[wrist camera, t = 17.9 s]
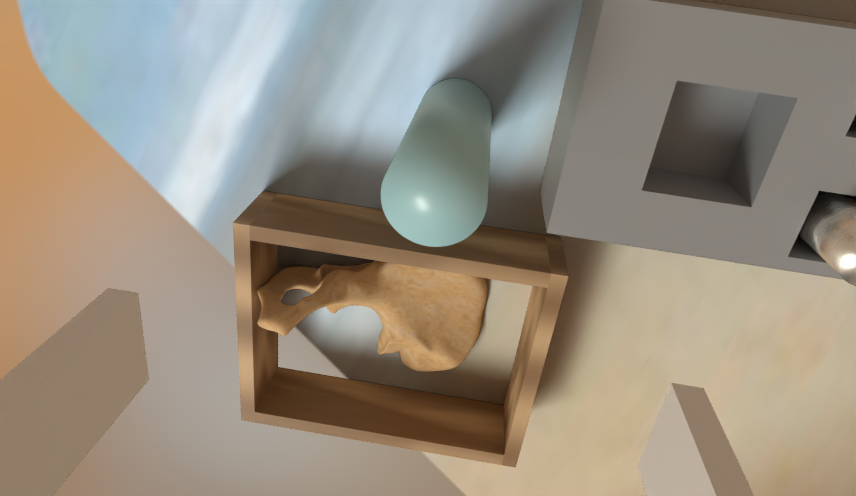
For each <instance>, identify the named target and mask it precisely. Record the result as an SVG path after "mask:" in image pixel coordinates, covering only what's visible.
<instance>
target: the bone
mask: <svg viewBox="0 0 856 496" xmlns="http://www.w3.org/2000/svg"><path fill="white" fill-rule="evenodd" d="M290 289H301V290H305V291H307V292H309V293H311V295H310V296H307V297H304V298H302V299H301V300H300V301H299V302H298V303H297V304H295V305H292V306H290V305H286V304H284V303H282V302H281V299H282V298H283V296H284V294H285V292H286V291H288V290H290ZM257 292H258V295H259V298H260V300H261V304H262V309H261V314H260V317H259V320H258V325H259V326H260V327H262V328H265V329H266V330H270V331H274V332H277V333H279V334H280V335H282V336H285V335H287V334H288V333H289V332H290V330H292V328H293V327H294V326H295V325H296V324H298V323H299V322H300V321H301V320H302V319H303V318H305V317H306V316H307V315H309V314H310V313H312V312H314V311H315V310H317V309H320V308H322V307H325V306H327V309H328V310H329V311H330V312H331V313H336V312H337V311H338V310H339V309H341V308H344V307H347V306H351V305H362V306H366V307H370V308H372V309H373V310H375V311H376V312H377V314H378V315H379V317H380V319H381V321H382V324H383V329H382V331H381V333H380V337H379V339H378V342H377V343H378V353H379V354H385V353H395V352H398V351H399V353H400V358H401V360H402V362H403V363H404V364H405V365H406V366H408V367H409V368H411V369H413V370H416V371H440V370H448V369H452V368H455V367H457V366H458V365H460V364H461V363H462V362H463V361H464V359H465V358H466V357H467V355H468V354H469V352H470V351H471V349H472V348H473V346H474V344H475V342H476V340H477V338H478V336H479V333H480V328H481V323H482V316H483V311H484V307H485V303H486V299H487V285H486V281H485V278H482V277H476V276H469V275H463V274H457V273H451V272H444V271H438V270H432V269H426V268H420V267H413V266H407V265H401V264H395V263H388V262H382V261H376V260H375V261H373V262H372V263H364V264H360V265H356V266H335V265H328V264H324V265H321V267H320V268H312V267H301V266H298V267H294V266H291V267H288V268H284V269H282V270H281V271H279V272H278V273H276V274H275V275H274V276H273V277H272V278H271V279H270V280H269V281H268V283H267V284H266V285H264V286H261V287H260V288H259V289H258V291H257Z"/></svg>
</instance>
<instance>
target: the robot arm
mask: <svg viewBox="0 0 856 496" xmlns="http://www.w3.org/2000/svg"><path fill="white" fill-rule="evenodd" d="M148 380H149V375H148V368H147V360H146V352H145V344H144V336H143V328H142V320H141V312H140V304H139V296H138V293H135V292H129V291H123V290H117V289H111V288H108V289H106V290H105V291H104V292H103V293H102V294H101V295H99V296H98V297H97V298H96V299H95V300H94V301H92V302H91V303H90V304H89V305H88V306H86V307H85V308H84V309H83V310H82V311H81V312H80V313H78V314H77V315H76V316H75V317H74V318H72V319H71V320H70V321H69V322H68V323H66V325H64V326H63V327H62V328H61V329H60V330H58V331H57V332H56V333H55V334H54V335H52V336H51V337H50V338H49V339H48V340H47V341H45V342H44V343H43V344H42V345H41V346H40V347H38V348H37V349H36V350H35V351H34V352H32V353H31V354H30V355H29V356H28V357H26V358H25V359H24V360H23V361H22V362H21V363H19V364H18V365H17V366H16V367H15V368H14V369H13V370H11V371H10V372H9V373H8V374H7V375H5V376H4V377H3V378H2V379H1V380H0V496H53V495H54V494H55V493H56V491H57V490H58V489H59V488H60V487H61V485H62V484H63V483H64V482H65V481H66V479H67V478H68V477H69V476H70V475H71V473H72V472H73V471H74V470H75V468H76V467H77V466H78V465H79V464H80V462H81V461H82V460H83V459H84V457H85V456H86V455H87V454H88V453H89V452H90V450H91V449H92V448H93V447H94V445H95V444H96V443H97V442H98V441H99V439H100V438H101V437H102V436H103V435H104V433H105V432H106V431H107V430H108V428H109V427H110V426H111V425H112V424H113V423H114V421H115V420H116V419H117V418H118V416H119V415H120V414H121V413H122V412H123V410H124V409H125V408H126V407H127V406H128V404H129V403H130V402H131V401H132V400H133V398H134V397H135V396H136V394H137V393H138V392H139V391H140V390H141V388H142V387H143V386H144V385H145V384H146V382H147V381H148ZM638 468H639V471H640V475H641V479H642V482H643V486H644V490H645V494H646V496H754V494H753V492H752V490H751V488H750V486H749V484H748V482H747V480H746V477H745V475H744V473H743V471H742V469H741V467H740V465H739V463H738V460H737V458H736V456H735V454H734V452H733V450H732V448H731V445H730V443H729V441H728V439H727V437H726V435H725V433H724V431H723V428H722V426H721V424H720V422H719V420H718V418H717V416H716V414H715V411H714V409H713V407H712V405H711V403H710V401H709V399H708V396H707V394H706V392H705V390H704V388H699V387H693V386H687V385H681V384H675V383H671V385H670V387H669V390H668V392H667V394H666V397H665V399H664V402H663V404H662V407H661V409H660V412H659V414H658V417H657V419H656V422H655V424H654V426H653V429H652V431H651V434H650V436H649V439H648V441H647V444H646V446H645V449H644V451H643V453H642V456H641V458H640V461H639V463H638Z"/></svg>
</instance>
